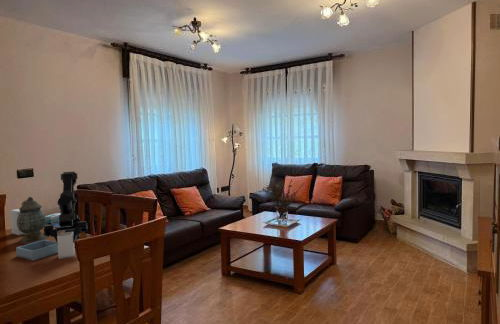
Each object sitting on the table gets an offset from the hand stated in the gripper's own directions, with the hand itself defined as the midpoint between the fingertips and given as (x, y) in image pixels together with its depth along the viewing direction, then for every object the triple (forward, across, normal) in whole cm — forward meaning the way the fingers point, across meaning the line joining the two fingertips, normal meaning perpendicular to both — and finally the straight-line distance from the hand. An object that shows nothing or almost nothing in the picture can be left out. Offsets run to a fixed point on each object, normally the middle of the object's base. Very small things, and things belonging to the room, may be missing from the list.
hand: (65, 243), depth 159 cm
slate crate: (-4, -13, +13) cm, 19 cm away
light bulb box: (-35, -12, +45) cm, 59 cm away
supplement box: (-40, -30, +50) cm, 71 cm away
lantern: (-26, -21, +35) cm, 49 cm away
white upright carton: (+4, 0, +6) cm, 7 cm away
